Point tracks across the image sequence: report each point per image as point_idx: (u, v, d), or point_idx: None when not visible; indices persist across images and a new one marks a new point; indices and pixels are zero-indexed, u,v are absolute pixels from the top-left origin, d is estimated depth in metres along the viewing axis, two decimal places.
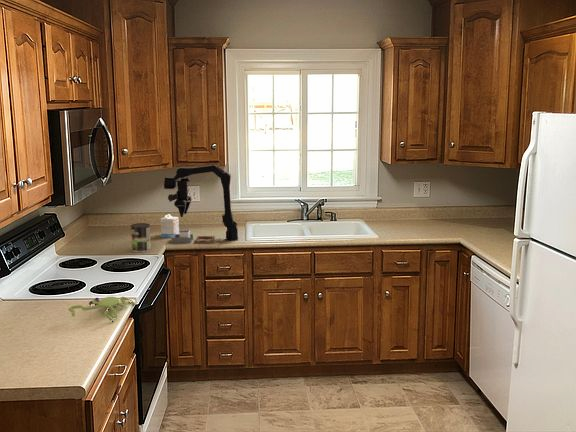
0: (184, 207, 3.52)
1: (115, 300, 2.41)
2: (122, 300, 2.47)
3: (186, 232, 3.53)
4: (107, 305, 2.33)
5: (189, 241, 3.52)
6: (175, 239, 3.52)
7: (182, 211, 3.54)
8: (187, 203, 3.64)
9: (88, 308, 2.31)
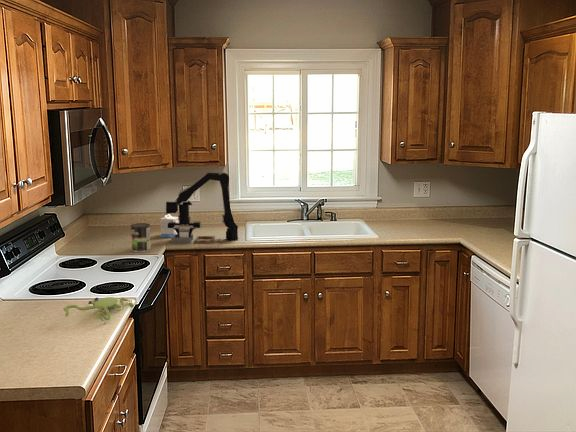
0: (176, 230, 3.54)
1: (112, 301, 2.40)
2: (121, 301, 2.46)
3: (186, 232, 3.53)
4: (101, 306, 2.33)
5: (189, 241, 3.52)
6: (175, 239, 3.52)
7: None
8: (189, 229, 3.54)
9: (82, 308, 2.30)
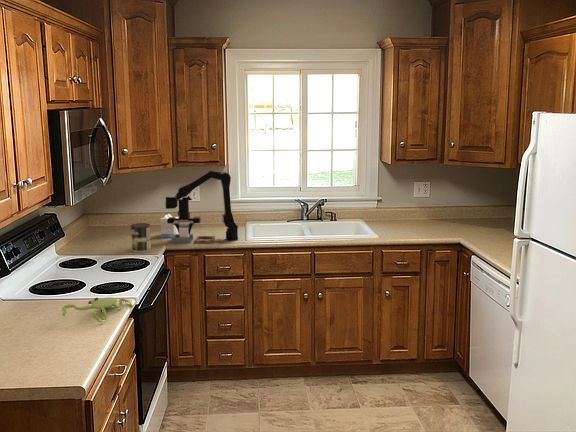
0: (175, 225, 3.53)
1: (110, 301, 2.40)
2: (120, 301, 2.46)
3: (186, 227, 3.52)
4: (99, 306, 2.32)
5: (189, 241, 3.52)
6: (175, 239, 3.52)
7: None
8: (189, 224, 3.54)
9: (80, 308, 2.31)
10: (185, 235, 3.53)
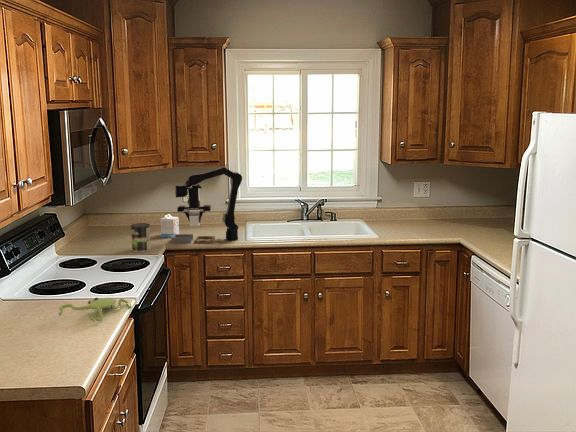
0: None
1: (108, 302, 2.39)
2: (119, 302, 2.45)
3: (196, 216, 3.51)
4: (95, 307, 2.32)
5: (189, 241, 3.52)
6: (175, 239, 3.52)
7: None
8: None
9: (76, 308, 2.31)
10: (195, 223, 3.52)
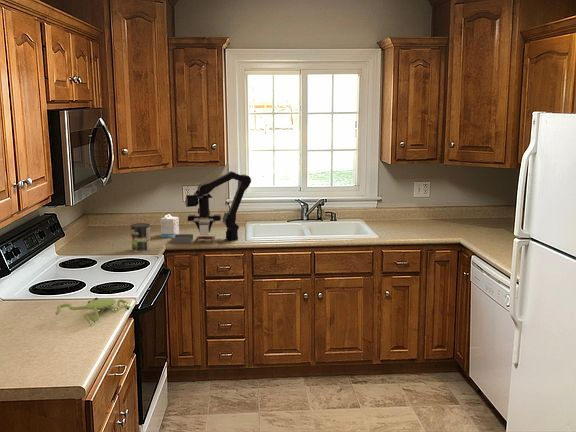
0: None
1: (106, 302, 2.38)
2: (118, 303, 2.44)
3: (206, 225, 3.52)
4: (92, 307, 2.32)
5: (189, 241, 3.52)
6: (175, 239, 3.52)
7: None
8: (209, 222, 3.54)
9: (73, 308, 2.31)
10: (205, 233, 3.53)
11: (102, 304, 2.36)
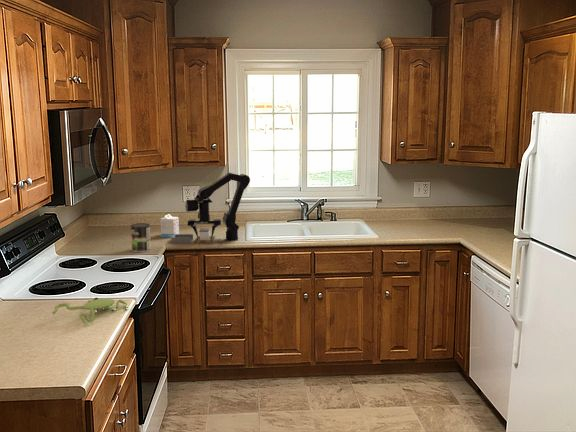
0: (193, 227, 3.53)
1: (104, 303, 2.38)
2: (117, 303, 2.44)
3: (206, 232, 3.53)
4: (89, 307, 2.31)
5: (189, 241, 3.52)
6: (175, 239, 3.52)
7: None
8: (212, 226, 3.54)
9: (70, 308, 2.31)
10: (205, 239, 3.54)
11: (99, 304, 2.35)
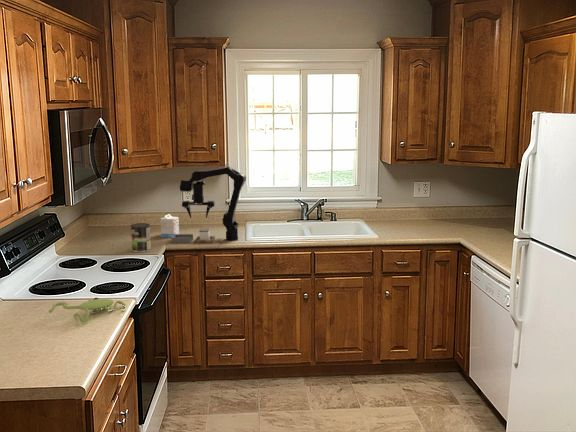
0: None
1: (101, 303, 2.38)
2: (115, 304, 2.43)
3: (206, 232, 3.53)
4: (84, 307, 2.31)
5: (189, 241, 3.52)
6: (175, 239, 3.52)
7: None
8: None
9: (66, 307, 2.32)
10: (205, 239, 3.54)
11: (96, 305, 2.35)
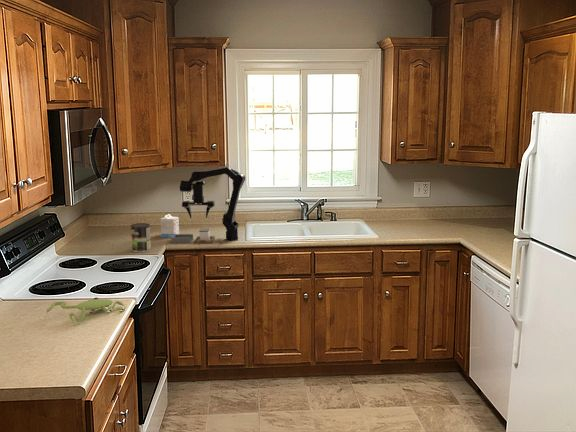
0: None
1: (99, 303, 2.37)
2: (113, 305, 2.42)
3: (206, 232, 3.53)
4: (81, 307, 2.31)
5: (189, 241, 3.52)
6: (175, 239, 3.52)
7: None
8: None
9: (64, 307, 2.32)
10: (205, 239, 3.54)
11: (93, 305, 2.35)
